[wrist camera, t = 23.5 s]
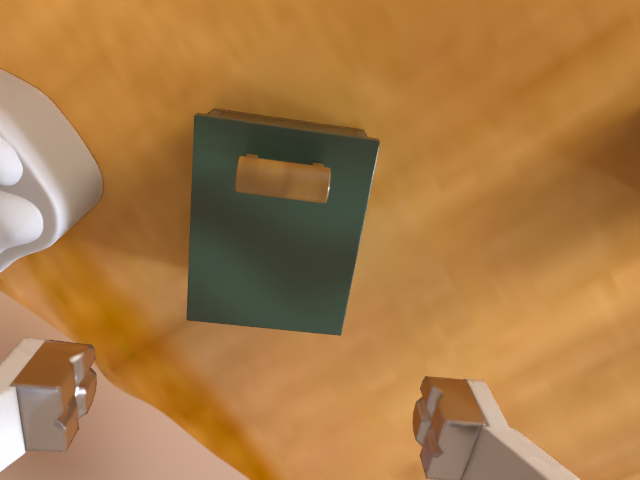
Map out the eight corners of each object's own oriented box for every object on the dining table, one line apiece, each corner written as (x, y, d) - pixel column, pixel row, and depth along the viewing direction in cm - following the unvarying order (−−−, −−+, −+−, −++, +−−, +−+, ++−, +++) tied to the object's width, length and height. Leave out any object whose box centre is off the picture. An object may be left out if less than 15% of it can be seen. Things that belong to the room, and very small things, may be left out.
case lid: (196, 112, 28) (177, 129, 24) (378, 138, 29) (392, 159, 25) (188, 315, 34) (171, 359, 30) (340, 330, 35) (346, 375, 31)
